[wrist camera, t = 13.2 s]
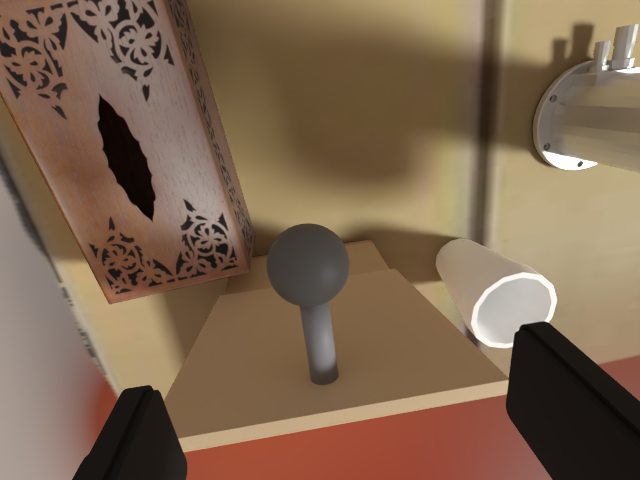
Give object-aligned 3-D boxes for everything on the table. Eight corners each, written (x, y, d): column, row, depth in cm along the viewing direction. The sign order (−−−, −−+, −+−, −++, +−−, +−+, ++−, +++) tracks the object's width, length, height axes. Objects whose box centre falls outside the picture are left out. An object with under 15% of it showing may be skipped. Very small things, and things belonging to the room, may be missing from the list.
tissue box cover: (255, 235, 46) (249, 272, 36) (143, 261, 45) (109, 304, 36) (185, 0, 35) (153, -33, 26) (40, 30, 35) (-45, 9, 26)
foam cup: (502, 252, 50) (573, 302, 38) (456, 299, 52) (509, 360, 40) (457, 214, 47) (519, 256, 35) (410, 266, 49) (453, 322, 37)
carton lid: (220, 303, 37) (201, 210, 35) (395, 275, 38) (387, 183, 36) (144, 459, 17) (89, 267, 15) (510, 393, 18) (506, 205, 16)
